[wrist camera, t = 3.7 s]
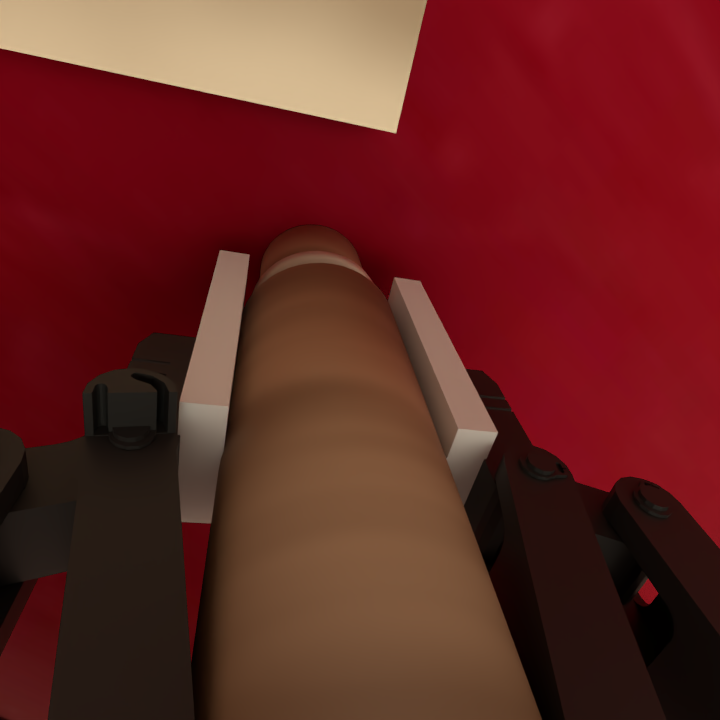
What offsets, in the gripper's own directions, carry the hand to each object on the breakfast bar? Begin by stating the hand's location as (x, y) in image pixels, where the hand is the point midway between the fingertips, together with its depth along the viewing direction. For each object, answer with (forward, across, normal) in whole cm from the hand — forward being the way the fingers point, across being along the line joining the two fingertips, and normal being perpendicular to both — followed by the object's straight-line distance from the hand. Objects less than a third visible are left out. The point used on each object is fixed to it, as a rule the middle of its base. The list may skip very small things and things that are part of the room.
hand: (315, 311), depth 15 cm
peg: (+3, 0, 0) cm, 3 cm away
